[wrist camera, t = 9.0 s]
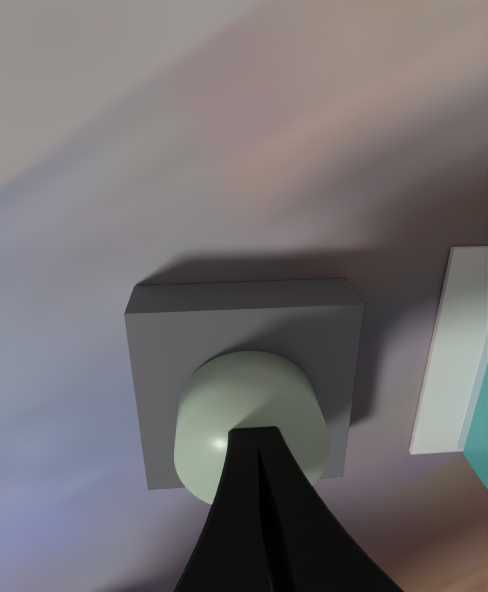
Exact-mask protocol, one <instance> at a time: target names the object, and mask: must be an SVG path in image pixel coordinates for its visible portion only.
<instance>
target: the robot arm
mask: <svg viewBox="0 0 488 592" xmlns="http://www.w3.org/2000/svg"><path fill="white" fill-rule="evenodd" d="M173 592H404V591H403V590H402V589H401V588H400V587H399V586H398V585H397V584H396V583H395V582H394V581H393V580H392V579H391V578H390V577H389V576H388V575H387V574H386V573H385V572H384V571H383V570H381V569H380V568H379V567H378V566H377V565H376V564H375V563H374V562H373V560H372V559H371V558H370V557H369V556H368V555H367V554H366V553H365V552H364V551H363V550H362V548H361V547H360V546H359V545H358V544H357V543H356V542H355V541H354V539H353V538H352V537H351V536H350V535H349V534H348V533H347V531H346V530H345V529H344V528H343V527H342V525H341V524H340V523H339V522H338V520H337V519H336V518H335V517H334V515H333V514H332V513H331V511H330V510H329V509H328V507H327V506H326V505H325V503H324V502H323V501H322V499H321V498H320V497H319V495H318V494H317V492H316V491H315V489H314V488H313V486H312V485H311V483H310V482H309V480H308V479H307V477H306V476H305V474H304V473H303V471H302V470H301V468H300V467H299V465H298V463H297V462H296V460H295V458H294V456H293V455H292V453H291V451H290V449H289V448H288V446H287V444H286V442H285V440H284V438H283V436H282V434H281V432H280V429H279V428H278V427H276V426H267V427H251V428H234V429H231V430H230V431H229V432H228V444H227V452H226V457H225V462H224V466H223V470H222V474H221V477H220V481H219V485H218V488H217V491H216V495H215V497H214V500H213V503H212V506H211V509H210V512H209V514H208V517H207V520H206V523H205V525H204V528H203V530H202V533H201V535H200V537H199V540H198V542H197V544H196V546H195V549H194V551H193V553H192V555H191V557H190V560H189V562H188V564H187V566H186V568H185V570H184V572H183V574H182V576H181V578H180V580H179V582H178V584H177V586H176V588H175V589H174V591H173Z"/></svg>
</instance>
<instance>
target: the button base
mask: <svg viewBox="0 0 488 592" xmlns="http://www.w3.org/2000/svg"><path fill="white" fill-rule="evenodd" d="M363 312H364V303H363V302H362V300H361V299H360V298H359V296H358V295H357V294H356V292H355V291H354V290H353V288H352V287H351V286H350V284H349V283H348V281H347V280H346V279H345V278H338V279H310V280H281V281H253V282H225V283H196V284H168V285H140V286H134V289H133V291H132V294H131V297H130V300H129V302H128V305H127V308H126V311H125V313H124V316H125V323H126V331H127V338H128V345H129V353H130V360H131V367H132V375H133V382H134V389H135V397H136V404H137V411H138V419H139V426H140V433H141V441H142V448H143V455H144V463H145V470H146V477H147V485H148V490H154V489H169V488H184V487H185V486H184V484H183V483H182V482H181V480H180V478H179V476H178V474H177V471H176V469H175V463H174V448H175V436H176V425H177V414H178V404H179V398H180V395H181V392H182V390H183V388H184V386H185V384H186V382H187V381H188V380H189V378H190V377H191V376H192V375H193V374H194V373H195V372H196V371H197V370H198V369H199V368H201V367H202V366H203V365H205V364H206V363H208V362H209V361H211V360H213V359H215V358H217V357H220V356H223V355H226V354H229V353H234V352H239V351H263V352H269V353H273V354H276V355H279V356H281V357H284V358H286V359H288V360H289V361H291V362H293V363H294V364H295V365H297V366H298V367H299V368H300V369H301V370H302V371H303V372H304V373H305V375H306V376H307V377H308V379H309V381H310V383H311V385H312V387H313V390H314V393H315V396H316V399H317V401H318V404H319V407H320V410H321V413H322V415H323V418H324V421H325V424H326V427H327V429H328V432H329V435H330V441H331V452H330V458H329V461H328V464H327V466H326V468H325V470H324V472H323V474H322V475H321V476H320V478H334V477H343V472H344V464H345V456H346V448H347V440H348V432H349V424H350V416H351V408H352V400H353V392H354V384H355V376H356V368H357V360H358V352H359V344H360V336H361V328H362V320H363Z"/></svg>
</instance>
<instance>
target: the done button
mask: <svg viewBox="0 0 488 592" xmlns="http://www.w3.org/2000/svg"><path fill="white" fill-rule="evenodd" d="M267 426H276V427H278V428H279V429H280V432H281V434H282V436H283V438H284V440H285V442H286V444H287V446H288V448H289V449H290V451H291V453H292V455H293V456H294V458H295V460H296V462H297V463H298V465H299V467H300V468H301V470H302V471H303V473H304V474H305V476H306V477H307V479H308V480H309V482H310V483H311V485H312V486H313V485H314V484H315V483H316V482H317V480H318V479H319V478H320V476H321V475H322V474H323V472H324V470H325V468H326V466H327V464H328V461H329V458H330V452H331V441H330V435H329V432H328V429H327V427H326V424H325V421H324V418H323V415H322V413H321V410H320V407H319V404H318V401H317V399H316V396H315V393H314V390H313V387H312V385H311V383H310V381H309V379H308V377H307V376H306V375H305V373H304V372H303V371H302V370H301V369H300V368H299V367H298V366H297V365H295V364H294V363H293V362H291V361H289V360H288V359H286V358H284V357H281V356H279V355H276V354H273V353H269V352H263V351H239V352H234V353H229V354H226V355H223V356H220V357H217V358H215V359H213V360H211V361H209V362H208V363H206V364H205V365H203V366H202V367H201V368H199V369H198V370H197V371H196V372H195V373H194V374H193V375H192V376H191V377H190V378H189V380H188V381H187V382H186V384H185V386H184V388H183V390H182V392H181V395H180V398H179V404H178V414H177V425H176V436H175V448H174V463H175V469H176V471H177V474H178V476H179V478H180V480H181V482H182V483H183V484H184V486H185V487H186V488H187V489H188V490H189V491H190V492H191V493H192V494H193V495H195V496H196V497H198V498H199V499H201V500H203V501H204V502H206V503H208V504H211V505H212V503H213V500H214V497H215V495H216V491H217V488H218V485H219V481H220V477H221V474H222V470H223V466H224V462H225V457H226V452H227V444H228V432H229V431H230V430H231V429H234V428H251V427H267Z"/></svg>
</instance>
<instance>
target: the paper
mask: <svg viewBox="0 0 488 592" xmlns="http://www.w3.org/2000/svg"><path fill="white" fill-rule="evenodd" d="M487 364H488V246H465V247H451V250H450V255H449V260H448V264H447V269H446V274H445V279H444V284H443V289H442V294H441V298H440V303H439V308H438V313H437V318H436V323H435V327H434V332H433V337H432V342H431V347H430V352H429V357H428V361H427V366H426V371H425V376H424V381H423V386H422V390H421V395H420V400H419V405H418V410H417V415H416V420H415V424H414V429H413V434H412V439H411V444H410V449H409V452H410V453H411V454H426V453H441V452H457V451H463V450H464V447H465V443H466V439H467V436H468V432H469V429H470V425H471V421H472V418H473V414H474V411H475V407H476V403H477V400H478V396H479V393H480V389H481V385H482V382H483V378H484V374H485V371H486V367H487Z"/></svg>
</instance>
